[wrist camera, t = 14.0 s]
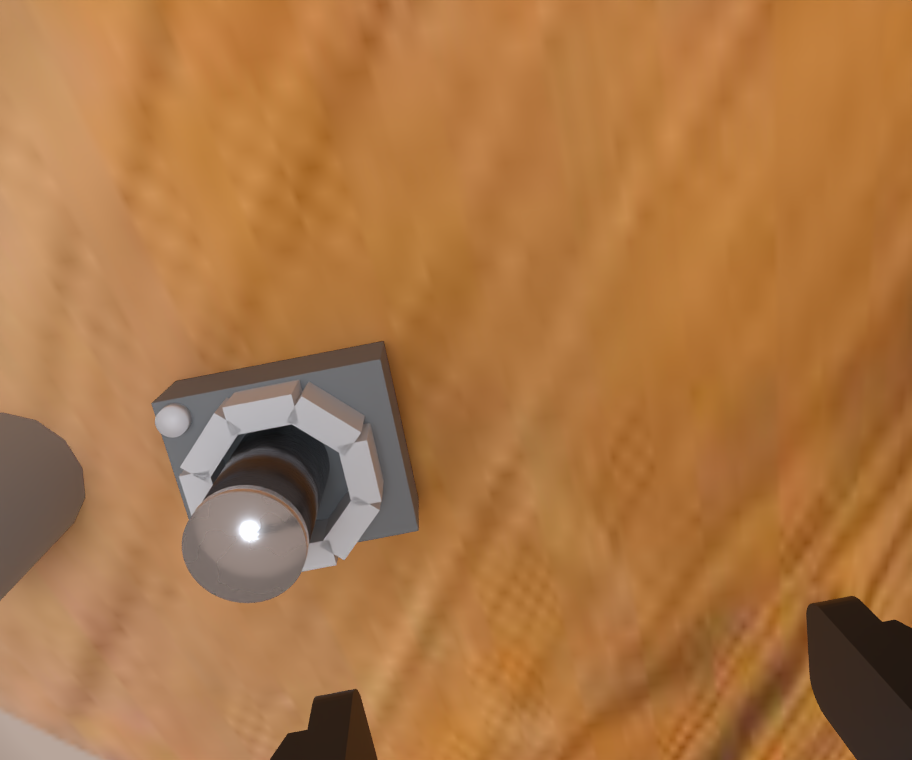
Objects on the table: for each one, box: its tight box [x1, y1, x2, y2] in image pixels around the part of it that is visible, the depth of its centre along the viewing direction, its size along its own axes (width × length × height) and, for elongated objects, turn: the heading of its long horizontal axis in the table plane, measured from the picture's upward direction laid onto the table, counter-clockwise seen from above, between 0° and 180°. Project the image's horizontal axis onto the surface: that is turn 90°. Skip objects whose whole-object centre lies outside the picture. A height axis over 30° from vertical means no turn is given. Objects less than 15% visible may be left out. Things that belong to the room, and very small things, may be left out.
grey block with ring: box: [151, 341, 419, 572], centre depth 40 cm, size 12×10×6 cm
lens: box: [182, 424, 330, 603], centre depth 35 cm, size 5×5×9 cm
